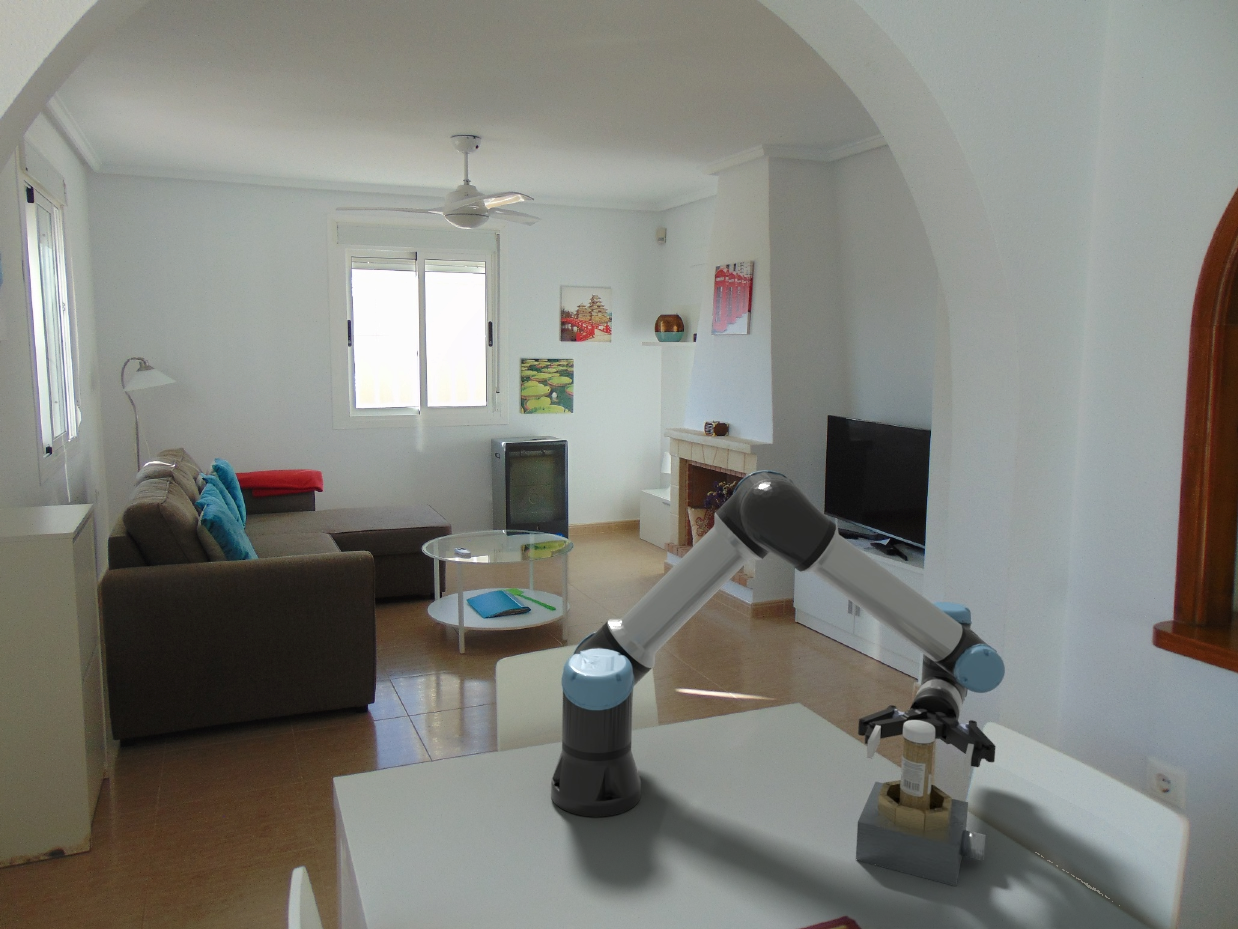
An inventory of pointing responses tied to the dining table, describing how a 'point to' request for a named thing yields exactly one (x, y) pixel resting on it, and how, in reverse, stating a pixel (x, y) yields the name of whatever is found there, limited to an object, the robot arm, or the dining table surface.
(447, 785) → the dining table surface
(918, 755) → the sprinkles bottle
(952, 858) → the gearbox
